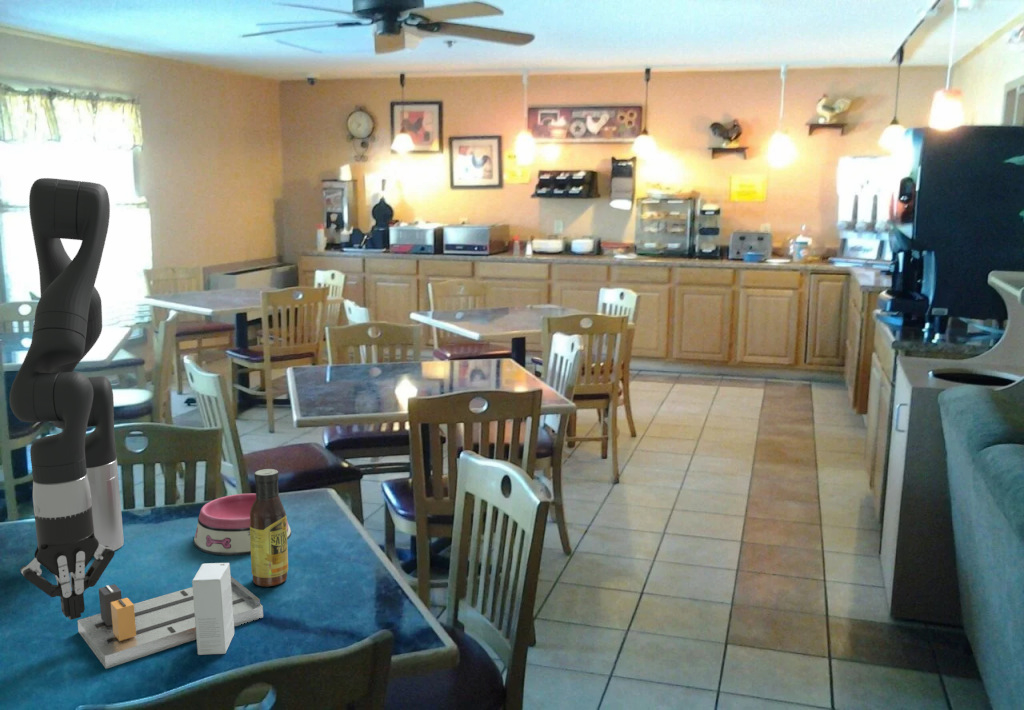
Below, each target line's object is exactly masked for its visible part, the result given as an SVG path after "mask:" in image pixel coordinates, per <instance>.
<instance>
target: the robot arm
mask: <svg viewBox="0 0 1024 710" xmlns="http://www.w3.org/2000/svg"><path fill="white" fill-rule="evenodd" d="M29 190H30V191H29V195H28V197H29V201H28V202H29V204H28V205H29V206H28V207H29V218H30V224H31V231H32V235H33V242H34V247H35V248H34V249H35V252H36V258H37V264H38V272H39V287H40V298H39V300H38V302H37V304H36V309H35V314H34V319H33V320H34V321H33V322H34V323H33V329H32V336H31V342H30V345H29V348H28V350H27V353H26V355H25V358H24V360H23V362H22V364H21V365H20V368H19V370H18V372H17V373H16V374H15V375H16V376H15V378H14V380H13V382H12V384H11V387H10V391H9V399H8V400H9V406H10V409H11V413H13V415H14V417H15V418H16V419H18V420H19V421H21V422H25V423H46V422H47V423H48V422H49V423H52V425H53V426H54V427H56V428H58V429H61V430H63V431H61V432H59V433H55V434H51V435H46V436H44V437H40V438H38V439H36V440H35V441H33V442H32V443H31V445H30V449H29V450H30V451H29V453H30V464H31V474H32V504H33V512H34V522H35V523H34V524H35V531H36V532H35V533H36V534H35V535H36V541H37V542H36V543H37V546H36V549H35V551H34V558H33V559H32V560H31V561H30V562H29V563H28V564H27V565H23V566H21V567H20V569H19V571H20V574H22V576H23V577H24V578H25V579H26V580H27V581H29V582H30V583H31V584H32V585H34V586H36V587H37V588H38V589H39V590H41V591H42V592H43V593H45V594H46V595H47V596H49V597H50V598H56V597H60V605H61V606H60V607H61V612H62V614H63V615H64V617H65V618H68V619H69V620H70V621H71V620H76V619H78V618H81V617H82V613H84V612H85V610H86V609H85V597H84V593H85V591H86V590H87V589H89V588H92V587H94V586H96V585H97V583H98V581H99V580H100V578H101V577H102V575H103V573H104V572H105V570H106V569H107V568H108V566H109V564H110V563H111V561H112V559H113V558H114V556H115V555H116V553H115V551H117V550H119V549H120V548H122V547H123V545H124V544H125V542H124V541H125V540H124V531H123V530H124V527H123V517H122V516H123V515H122V505H121V504H122V503H121V491H120V481H119V478H120V477H119V469H118V467H119V466H118V455H117V449H116V438H115V437H116V436H115V434H116V433H115V412H114V411H115V407H114V404H115V403H114V392H113V391H114V390H113V386H112V383H111V381H110V380H109V378H108V377H107V376H101V375H100V376H99V375H98V376H89V377H87V376H86V375H84V374H83V373H82V372H78V371H75V369H76V368H77V366H78V365H79V363H80V362H81V361H82V360H83V359H84V358H85V356H87V354H88V353H89V352H90V350H92V349H93V347H94V346H95V344H96V343H97V341H98V339H99V338H100V336H101V334H102V331H103V309H102V308H103V306H102V305H103V304H102V299H101V295H100V293H99V291H98V289H97V288H96V287H95V283H96V282H97V277H98V273H99V269H100V266H101V261H102V257H103V253H104V248H105V245H106V240H107V235H108V231H109V230H108V229H109V224H110V217H111V215H110V214H111V213H110V212H111V211H110V209H111V205H110V197H109V192H108V190H107V188H106V187H105V186H104V185H103V184H100V183H96V182H91V181H90V182H89V181H83V180H82V181H80V180H72V179H71V180H70V179H63V178H53V177H51V178H50V177H47V178H46V177H44V178H43V177H42V178H38V179H36V180H35V181H34V182H33V183H32V185H31V187H30V189H29ZM61 239H63V240H73V241H81V244H80V247H79V249H78V251H77V253H76V254H75V256H74V257H73V259H71V257H70V255H68V253H67V251H66V250H65V247H64V245H63V242H62V240H61ZM90 427H95V428H94V430H93V431H91V432H90V433H89V434H88V435H87V429H88V428H90ZM93 557H94V560H93V561H92V563H91V565H90V566H89V568H88V569H87V571H86V572H85V570H86V568H87V567H88V564H89V563H90V561H91V560H92V558H93ZM41 566H43V568H45V569H46V570H47V571H48V572H50V574H52V575H54V576H55V579H56V584H53V583H51V582H50V581H49V580H47V579H46V578H44V576H42V571H43V570H42V569H41Z"/></svg>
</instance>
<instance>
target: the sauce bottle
mask: <svg viewBox="0 0 1024 710" xmlns="http://www.w3.org/2000/svg"><path fill="white" fill-rule="evenodd" d="M253 477H254V482H255V494H256V497H257V498H256V500H255V502H254V503H253V505H252V507H251V510H250V544H251V554H250V564H251V565H250V567H251V568H250V569H251V574H252V581H253V583H254V584H255V585H256V586H259V587H266V588H268V587H275V586H278V585H281V584H283V583H284V582H286V580H287V578H288V571H289V549H288V540H287V521H288V518H287V516H288V515H287V513H286V510H285V508H284V505H283V502H282V500H281V498H280V495H279V494H280V493H279V492H280V491H279V479H280V475H279V471H278V470H277V469H274V468H265V469H259V470H257V471H255V472H254V476H253Z"/></svg>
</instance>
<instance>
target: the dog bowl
mask: <svg viewBox="0 0 1024 710" xmlns="http://www.w3.org/2000/svg"><path fill="white" fill-rule="evenodd" d="M256 498H257V497H256V493H238V494H230V495H226V496H221V497H218V498H216V499H213V500H211V501H209V502H207V503H205V504H204V505H203V506H202V507H201V509H200V511H199V515H198V518H197V525H196V529H195V532H194V533H195V534H194V539H193V545H194V546H195V548H197V549H198V550H199V551H201V552H202V553H206V554H209V555H214V556H222V555H223V556H224V557H226V556H227V557H229V556H231V557H233V556H234V557H236V556H245V555H247V554H248V555H251V544H250V510H251V507H252V505H253V503H254V502H255V500H256ZM291 529H292V528H291V527H290V525H289V522H288V520H287V541H288V539H290V537H291V535H292V530H291ZM235 555H236V556H235Z"/></svg>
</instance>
